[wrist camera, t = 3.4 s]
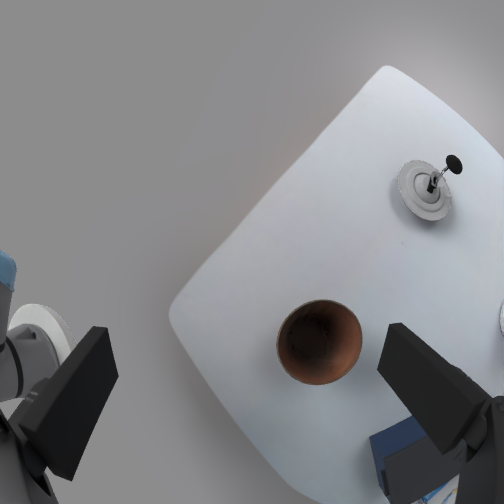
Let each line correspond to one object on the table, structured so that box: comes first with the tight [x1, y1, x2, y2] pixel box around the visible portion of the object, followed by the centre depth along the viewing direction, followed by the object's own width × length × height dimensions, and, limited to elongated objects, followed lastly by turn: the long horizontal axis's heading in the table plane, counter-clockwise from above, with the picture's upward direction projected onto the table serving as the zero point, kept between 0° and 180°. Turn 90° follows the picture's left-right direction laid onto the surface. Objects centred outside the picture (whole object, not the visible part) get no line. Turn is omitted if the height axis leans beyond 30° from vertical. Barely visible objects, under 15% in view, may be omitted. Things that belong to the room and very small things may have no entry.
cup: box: [276, 300, 362, 385], centre depth 30 cm, size 9×9×10 cm
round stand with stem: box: [398, 155, 463, 221], centre depth 31 cm, size 12×10×10 cm
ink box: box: [422, 474, 459, 504], centre depth 20 cm, size 9×8×12 cm
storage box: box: [369, 415, 465, 504], centre depth 26 cm, size 17×13×8 cm
